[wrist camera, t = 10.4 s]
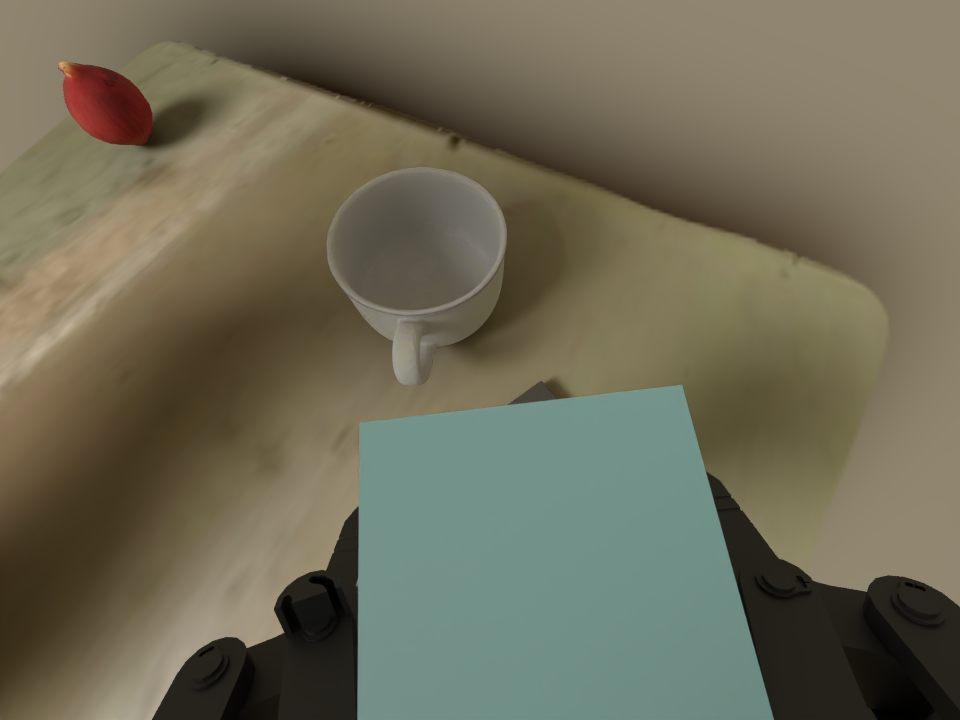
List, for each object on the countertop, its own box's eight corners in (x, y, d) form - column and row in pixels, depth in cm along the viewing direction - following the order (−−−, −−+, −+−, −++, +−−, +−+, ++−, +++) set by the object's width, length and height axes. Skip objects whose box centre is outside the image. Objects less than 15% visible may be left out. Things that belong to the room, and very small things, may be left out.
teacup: (391, 230, 36) (357, 153, 29) (523, 248, 35) (522, 170, 27) (336, 391, 32) (278, 348, 24) (484, 421, 30) (470, 385, 23)
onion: (141, 113, 44) (64, 29, 37) (185, 127, 43) (114, 43, 36) (102, 156, 43) (13, 77, 35) (146, 172, 41) (64, 93, 34)
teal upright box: (464, 647, 16) (356, 842, 6) (452, 483, 18) (359, 422, 8) (625, 634, 16) (799, 814, 6) (594, 468, 18) (682, 384, 8)
